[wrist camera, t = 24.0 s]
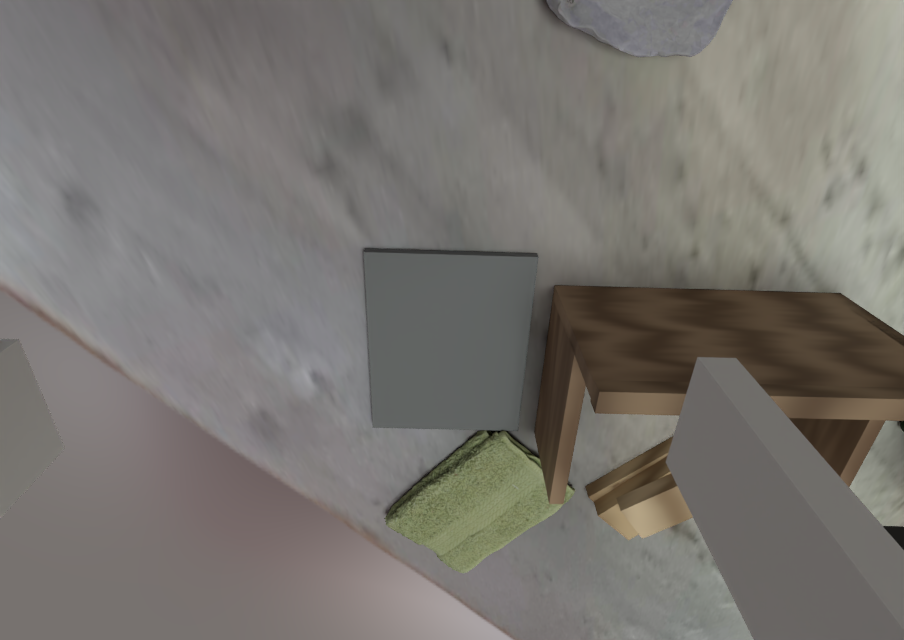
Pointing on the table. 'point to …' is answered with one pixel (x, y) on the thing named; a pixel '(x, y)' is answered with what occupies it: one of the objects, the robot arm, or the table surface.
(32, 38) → the table surface
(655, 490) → the offcut stack
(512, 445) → the washcloth
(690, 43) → the stone block
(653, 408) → the walnut rack
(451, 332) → the charcoal panel
